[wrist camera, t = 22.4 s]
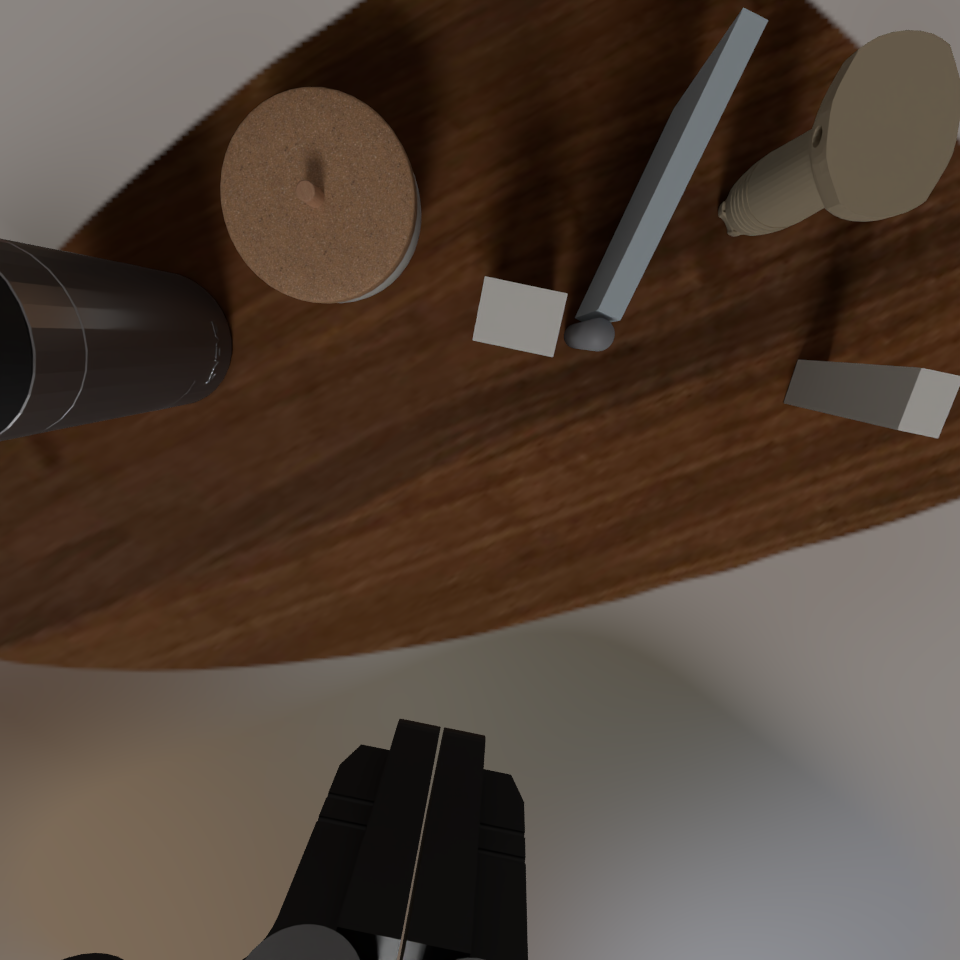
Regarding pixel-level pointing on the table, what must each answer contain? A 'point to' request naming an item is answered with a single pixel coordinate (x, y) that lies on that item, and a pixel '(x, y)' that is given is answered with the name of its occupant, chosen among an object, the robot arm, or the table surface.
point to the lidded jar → (320, 196)
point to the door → (663, 185)
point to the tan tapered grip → (861, 141)
